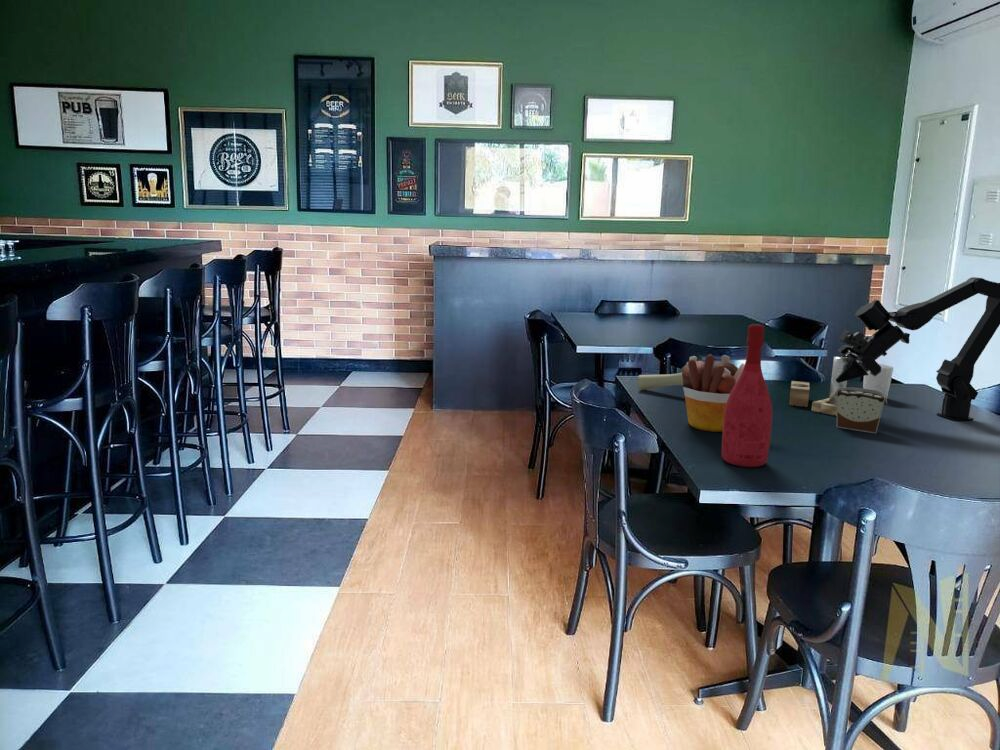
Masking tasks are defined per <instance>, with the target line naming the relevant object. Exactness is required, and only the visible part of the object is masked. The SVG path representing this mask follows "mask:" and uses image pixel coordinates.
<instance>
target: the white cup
mask: <svg viewBox="0 0 1000 750" xmlns="http://www.w3.org/2000/svg"><path fill="white" fill-rule="evenodd" d="M878 364H879V365H880V366H881V372H880V373H879V374H878V375H876V376H873V375H871V374H870V371H868V372H867V373H868V375H865V376H863V385H862V388H863V389H870V390H875V391H879V392H882V393H884V394H886V397H887V398H888V394H889V390H890V386H891V383H892V377H893V372H894V366H891V365H888V364H883V363H882V364H881V363H878Z"/></svg>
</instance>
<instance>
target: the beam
mask: <svg viewBox="0 0 1000 750" xmlns="http://www.w3.org/2000/svg"><path fill="white" fill-rule="evenodd" d="M810 391H811V390H810V382H808V381H807V382H806V381H796V380H791V383H790V393H789V403H788V404H789V406H794V405H795V407H803V406H804V407H805V408H808V407H809V398H810Z"/></svg>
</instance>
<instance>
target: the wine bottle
mask: <svg viewBox="0 0 1000 750" xmlns="http://www.w3.org/2000/svg"><path fill="white" fill-rule="evenodd" d="M765 329H766V328H765V326H764V325H763V324H759V323H753V324H750V325H748V327H747V338H746V339H747V340H746V346H747V351H746V352H747V353H746V359H745V363H744V364H745V366H744V369H743V371H742V373H741V375H740V377H739V379H738V380H737V382H736V384H735V386H734V387H733V389H732V391H731V393H730V395H729V398H728V400H727V403H726V406H725V412H724V421H723V432H722V436H721V458H722V459H723V461H725V462H726V463H727V464H731V465H734V466H736V467H741V468H742V467H744V468H757V467H762V466H764V465H765V464H766V463H767V461H768V457H769V452H770V444H771V436H772V433H771V432H772V428H773V404H772V399H771V396H770V392H769V388H768V386H767V384H766V381H765V380H766V379H765V377H764V375H763V370H762V348H763V346H764V336H765V335H764V334H765Z"/></svg>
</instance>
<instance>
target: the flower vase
mask: <svg viewBox="0 0 1000 750" xmlns="http://www.w3.org/2000/svg"><path fill="white" fill-rule="evenodd" d="M636 382H637V387H638V389H639V390H640V391H645V390H651V389H658V388H663V387H669V386H671V387H672V386H683V377H682V371H681V372H679V373H672V374H669V373H667V374H639V375H638V377H637V381H636Z"/></svg>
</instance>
